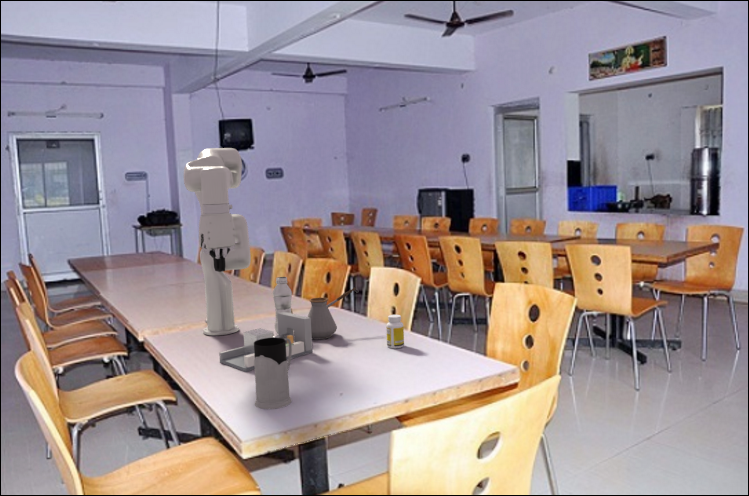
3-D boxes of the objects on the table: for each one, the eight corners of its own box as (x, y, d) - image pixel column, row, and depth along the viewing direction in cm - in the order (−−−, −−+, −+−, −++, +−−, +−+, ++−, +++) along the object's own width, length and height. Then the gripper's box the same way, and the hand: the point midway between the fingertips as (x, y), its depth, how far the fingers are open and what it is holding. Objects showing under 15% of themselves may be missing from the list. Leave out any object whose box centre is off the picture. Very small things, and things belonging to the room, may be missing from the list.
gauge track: (219, 362, 179) (217, 326, 178) (285, 344, 196) (283, 311, 195) (245, 371, 169) (243, 333, 168) (312, 352, 186) (310, 317, 185)
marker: (287, 343, 181) (287, 335, 181) (290, 342, 182) (290, 335, 182) (290, 343, 180) (289, 336, 180) (293, 342, 181) (293, 335, 181)
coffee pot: (313, 342, 197) (311, 297, 196) (297, 336, 207) (295, 293, 205) (367, 331, 209) (366, 289, 207) (350, 325, 219) (348, 285, 217)
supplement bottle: (406, 344, 191) (405, 314, 190) (400, 349, 186) (399, 318, 185) (391, 343, 193) (390, 313, 192) (384, 348, 188) (383, 317, 187)
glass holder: (247, 407, 143) (243, 345, 141) (277, 387, 156) (274, 330, 154) (280, 410, 139) (276, 347, 138) (308, 390, 153) (305, 332, 151)
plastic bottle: (290, 336, 206) (287, 279, 203) (272, 336, 207) (268, 279, 205) (297, 332, 212) (294, 276, 210) (278, 331, 213) (275, 276, 211)
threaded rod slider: (244, 354, 182) (243, 332, 181) (282, 344, 191) (281, 323, 191) (265, 361, 174) (264, 338, 173) (304, 350, 184) (302, 328, 183)
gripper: (231, 207, 184) (235, 265, 187) (186, 211, 174) (190, 273, 177) (244, 208, 179) (248, 268, 182) (199, 212, 169) (203, 276, 172)
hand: (220, 270), depth 180 cm, fingers closed
